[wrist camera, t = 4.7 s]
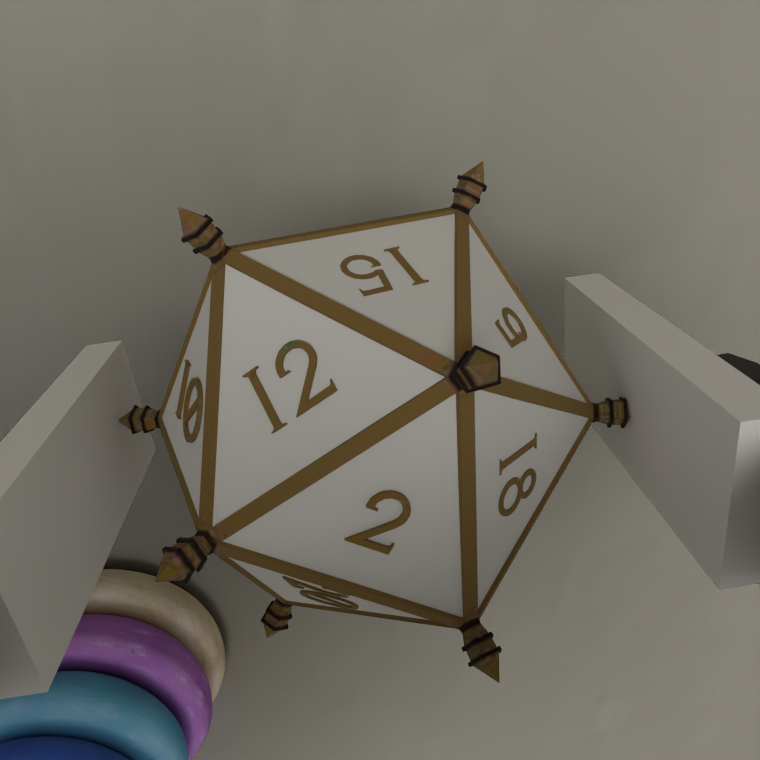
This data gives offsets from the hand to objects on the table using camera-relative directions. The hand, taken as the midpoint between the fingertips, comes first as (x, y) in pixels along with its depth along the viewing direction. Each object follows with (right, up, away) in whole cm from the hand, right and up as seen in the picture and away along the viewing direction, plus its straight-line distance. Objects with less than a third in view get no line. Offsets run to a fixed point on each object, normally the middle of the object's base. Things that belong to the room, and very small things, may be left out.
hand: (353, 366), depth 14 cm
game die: (0, +1, +2) cm, 2 cm away
